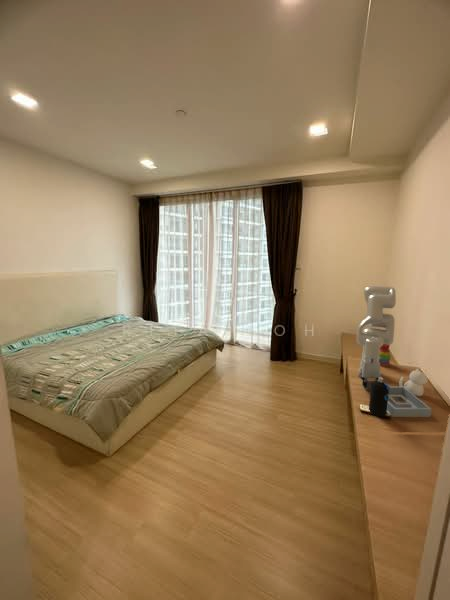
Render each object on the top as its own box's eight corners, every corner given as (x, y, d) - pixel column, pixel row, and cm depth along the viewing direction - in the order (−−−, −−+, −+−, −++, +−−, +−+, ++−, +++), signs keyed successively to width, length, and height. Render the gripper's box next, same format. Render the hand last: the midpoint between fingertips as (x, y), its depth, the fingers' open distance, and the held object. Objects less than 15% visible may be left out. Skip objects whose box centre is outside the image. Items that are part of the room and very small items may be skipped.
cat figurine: (426, 400, 132) (431, 375, 129) (399, 394, 138) (403, 371, 135) (422, 391, 140) (426, 368, 137) (396, 386, 146) (400, 364, 143)
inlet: (386, 399, 132) (386, 395, 132) (400, 399, 132) (401, 395, 131) (395, 409, 124) (396, 404, 124) (411, 409, 124) (412, 404, 123)
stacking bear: (386, 361, 179) (389, 338, 175) (393, 367, 169) (396, 344, 166) (371, 360, 181) (373, 338, 178) (376, 366, 171) (379, 343, 168)
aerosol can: (368, 415, 121) (372, 380, 117) (367, 406, 129) (370, 372, 125) (388, 420, 118) (392, 384, 114) (385, 410, 125) (389, 375, 121)
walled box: (370, 394, 139) (371, 386, 138) (402, 394, 138) (403, 386, 137) (393, 418, 119) (394, 408, 118) (430, 418, 118) (431, 409, 117)
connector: (363, 388, 145) (364, 374, 144) (369, 388, 145) (371, 374, 143) (366, 391, 142) (367, 378, 140) (373, 391, 141) (374, 378, 140)
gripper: (381, 356, 143) (378, 383, 146) (353, 356, 144) (351, 383, 147) (389, 361, 135) (386, 390, 139) (359, 361, 136) (357, 390, 140)
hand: (368, 386), depth 143 cm, fingers closed on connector, 3 cm apart
